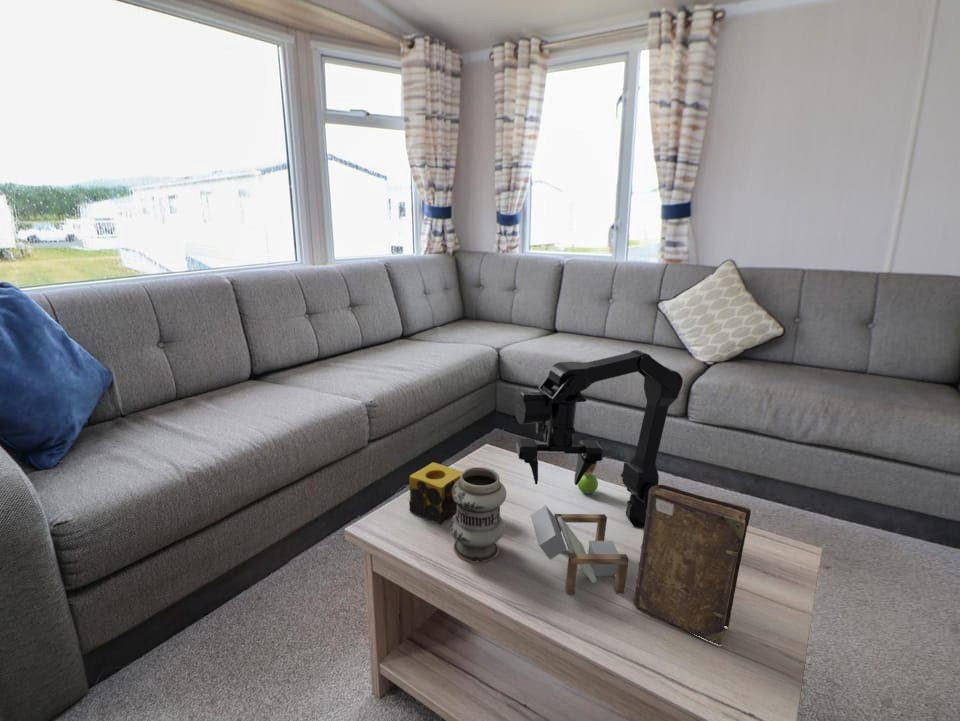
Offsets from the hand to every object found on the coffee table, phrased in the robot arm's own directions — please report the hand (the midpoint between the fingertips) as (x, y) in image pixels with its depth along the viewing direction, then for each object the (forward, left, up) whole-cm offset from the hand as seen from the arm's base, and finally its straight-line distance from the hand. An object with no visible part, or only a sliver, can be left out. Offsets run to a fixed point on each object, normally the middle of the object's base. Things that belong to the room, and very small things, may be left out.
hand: (555, 483), depth 120 cm
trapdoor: (+2, +13, -9) cm, 16 cm away
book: (-19, +27, -13) cm, 36 cm away
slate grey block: (-6, +12, -11) cm, 17 cm away
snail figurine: (-14, -20, -13) cm, 28 cm away
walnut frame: (-5, +13, -13) cm, 19 cm away
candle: (+27, -10, -13) cm, 32 cm away
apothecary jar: (+18, +6, -13) cm, 23 cm away
